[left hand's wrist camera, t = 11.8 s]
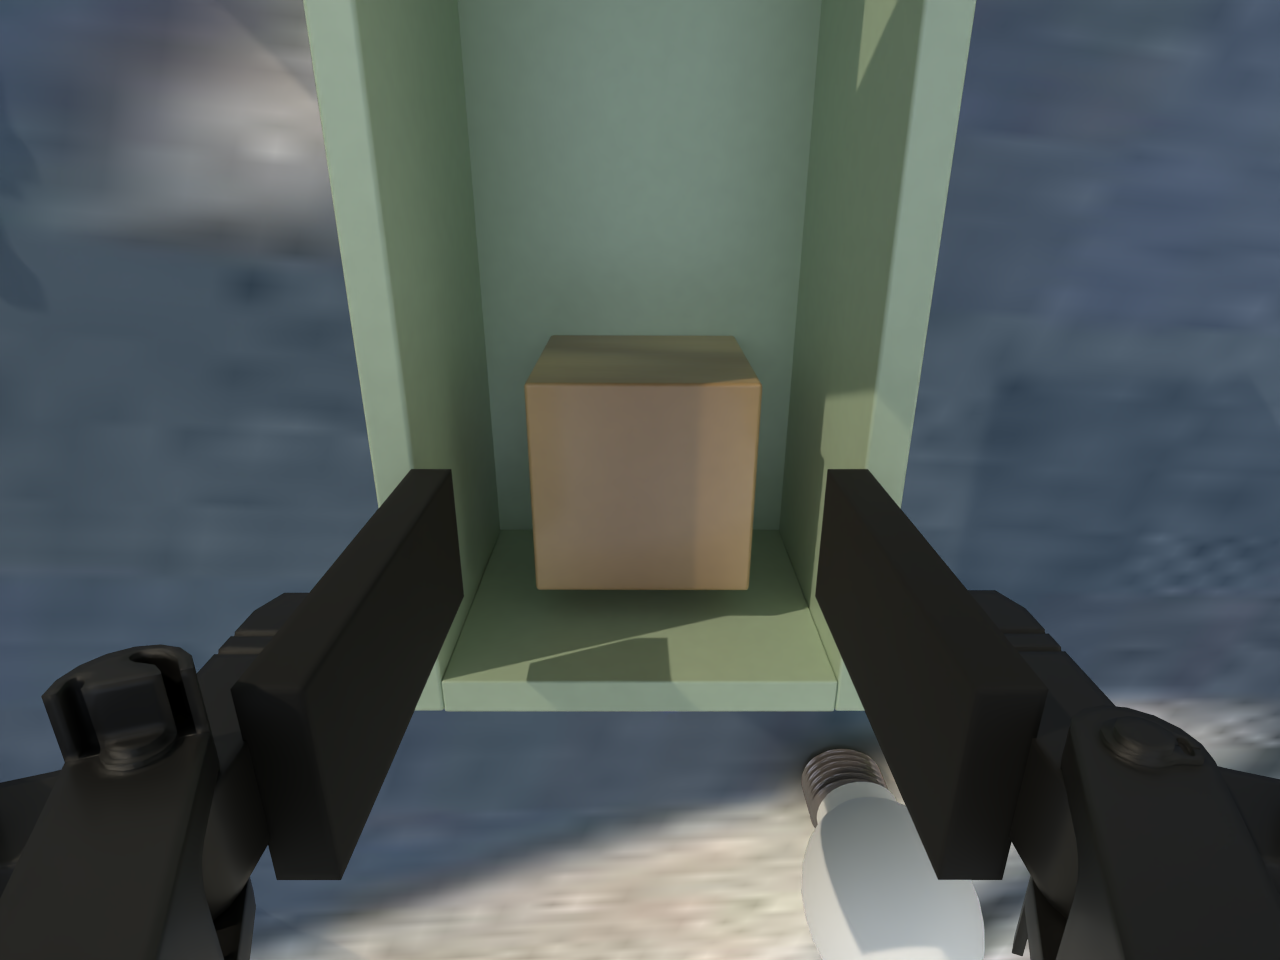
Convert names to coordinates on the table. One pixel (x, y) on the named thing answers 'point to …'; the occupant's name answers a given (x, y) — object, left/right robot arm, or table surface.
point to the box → (639, 290)
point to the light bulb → (877, 873)
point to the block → (642, 462)
